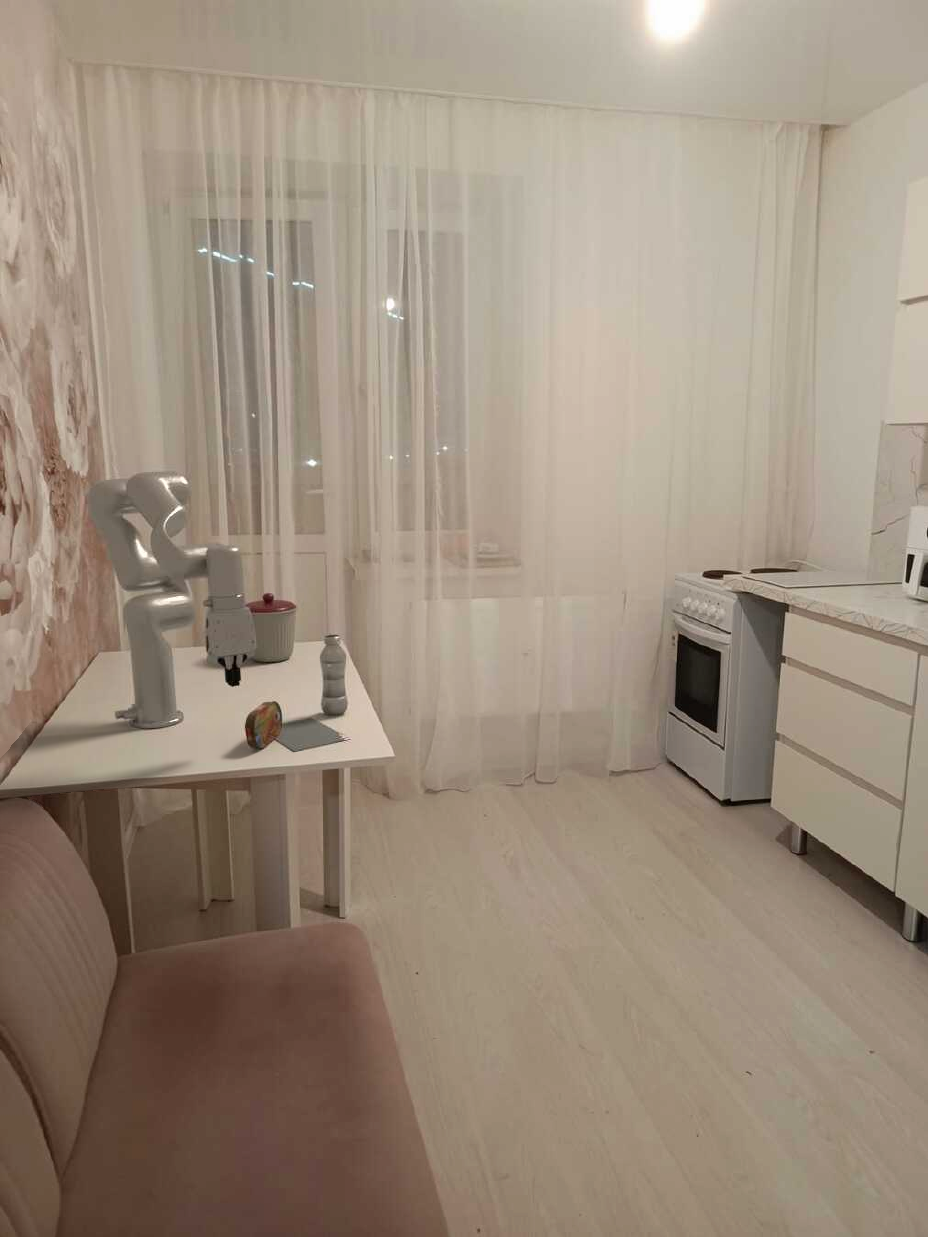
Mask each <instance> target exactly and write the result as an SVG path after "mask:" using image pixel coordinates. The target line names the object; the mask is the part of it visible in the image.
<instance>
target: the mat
mask: <svg viewBox="0 0 928 1237" xmlns="http://www.w3.org/2000/svg"><path fill="white" fill-rule="evenodd" d="M339 734H342V735H344V734H343V733H341V732H339V731H337V730H335V729H333V728H331V727H330V726H328V725H326V724H324V723H322V722H320V721H318V720H317V719H315V718H314V717H306V718H302V719H298V720H297V719H296V720H292V721H288V722H282V727H281V731H280V733H279V735H278V736H277V737H276V738H275V739H274V741H276V742H278V743H279V744H280V745H283V746H284V747H286V748H287V749H289V750H290V751H292V752H293V753H296V752H300V751H304V749H305V750H308V748H310V749H313V748H312V747H314V748H318V747H317V746H319V747H321V746H320V745H323V746H327V745H331V744H336V742H337V743H340V742H339V741H341V742H344V741H343V740H344V739H345V738H342V736H340V735H339ZM347 737H348V736H346V738H347ZM341 738H342V739H341Z"/></svg>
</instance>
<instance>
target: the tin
mask: <svg viewBox="0 0 928 1237" xmlns="http://www.w3.org/2000/svg"><path fill="white" fill-rule="evenodd" d="M282 723H283V713H282V708H281V706H280V704H279V702H277V701H276V700H274V701H265V702H262V703H261V704H260V705H259V706H257V707H256V708H255V709H253V710H252V711H250V713H248V714H247V716H246V719H245V724H244V731H245V736H246V737H245V738H246V742H247V744H248V746H249V747H250V748H252V749H264V748H266V747H267V746H268V745H270V744H271V743H272V741H273V740H274V741H275V738H276V737H277V736H278V735H279V733H280V731H281V727H282Z"/></svg>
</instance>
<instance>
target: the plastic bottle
mask: <svg viewBox="0 0 928 1237" xmlns="http://www.w3.org/2000/svg"><path fill="white" fill-rule="evenodd" d="M340 638H341V636H340V635H339V634H327V635H324V642H323V643H324V645H325V646H324V648H323V649H322V651H321V653H320V655H319V661H320V668H321V676H322V694H321V700H320V707H321V710H322V712H323V713H324V714H326V715H341V714H343V713H345V712H346V711H347V709H348V704H349V701H348V696H347V693H346V692H347V691H346V682H345V681H346V680H345V677H346V676H345V675H346V674H345V673H346V665H347V653H346V651H345V650H344V649H343V647H342V646H341V645H340V644H341V639H340Z"/></svg>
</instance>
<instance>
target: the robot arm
mask: <svg viewBox="0 0 928 1237" xmlns="http://www.w3.org/2000/svg"><path fill="white" fill-rule="evenodd" d="M190 498H191V487H190V484H189V481H188V480H187V479H186V477H185V476H184V475H183V474H181V473H179V472H177V471H145V472H139V473H136V474H134V475H132V476H131V477H130V478H109V479H104V480H102V481H101V480H100V481H97V482H95V483H94V484H93V485H91V487H90V488H89V491H88V493H87V507H88V508H87V509H88V512H89V516H90V518H91V521H92V523H93V525H94V527H95V528H96V530H97V532H98V533H99V535H100V536H101V538H102V539H103V540H102V541H103V542H104V544H105V547H106V551H107V553H108V556H109V559H110V562H111V565H112V568H113V571H114V573H115V577H116V579H117V581H118V584H119V586H120V587H121V588H122V589H123V590H124V591H126V592H129V593H130V592H131V593H133V592H142V591H144V592H145V591H153V590H159V589H162V591H160V592H159V591H158V592H151V593H144V594H139V595H136V596H134V597H131V598H129V599H128V600H127V601H126V602H125V604H124V606H123V608H122V616H123V622H124V625H125V629H126V632H127V637H128V642H129V643H128V644H129V651H130V658H131V661H130V662H131V670H132V671H131V672H132V682H133V683H132V684H133V694H134V703H132V704H131V707H127V709H122V710H117V711H116V710H115V711H114V716H115V720H119V719H120V720H121V719H123V720H125V721H126V720H129V724H130V725H131V726H132V727H135V728H139V729H158V728H164V727H170V726H173V725H176V724H179V723H180V722H182V721H183V720H184V716H185V715H184V712H183V711H181V710H178V709H177V699H176V698H177V696H176V684H175V672H174V671H175V668H174V655H173V649H172V646H171V645H170V643H169V642H168V640H167V639H166V638H165V637H164V636H163V634H162V633H165V632H166V631H171V630H178V629H183V628H187V627H190V626H192V625H193V624H194V623H195V621H196V620H197V618H198V608H197V607H198V606H197V602H196V598H195V595H194V593H193V590H192V587H191V584H190V582H189V581H190V580H196V579H197V580H198V579H206V578H207V590H208V596H207V599H206V600H205V599H204V600H202V606H203V607H208V608H209V610H207V611H206V616H205V617H206V618H205V626H204V627H205V632H204V633H205V634H204V635H205V641H204V642H205V651H206V653H207V654H206V655H207V656H206V661H207V662H209V663H213V664H214V663H215V664H219V665H220V666H222V668H224V678H225V679H224V680H225V683H227V685H228V686H230V687H232V688H235V687H238V686H239V687H240V685H241V684H240V682H242V673H241V668H242V667H243V665H244V662H245V661H246V660H247V659H249V658H251V657H252V656H254V655H255V654H256V653H255V650H256V636H255V630H254V624H253V619H252V615H251V611H250V608H249V607H246V606H245V604H246V595H245V581H244V566H243V553H242V550H241V548H240V547H239V546H238V545H237V546H236V545H230V544H229V545H224V544H222V543H219V542H205V543H195V544H186V545H185V544H184V545H177V544H176V543H175V542H174V541H173V540H172V538H174V537H175V536H176V535H178V534H179V533H180V532H182V531H183V530H184V528H186V526H187V523H188V520H189V514H188V511H187V508H186V507H185V505H186V504H188V502H189V501H190ZM130 514H140V515H141V517H143V519H144V520H145V521H146V522H147V524H148V525H149V526H150V527H151V529H152V530H151V533H150V541H149V542H150V549H151V550H148V549H147V547H146V545H145V543H144V540H143V537H142V535H141V534H142V533H141V532H140V531H139V530H138V528H137V527H136V526H135V525H134V524H133V523H132V522H130V521H129V520H128V519H126V518H125V517H124V515H130ZM231 657H232V661H231Z"/></svg>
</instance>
